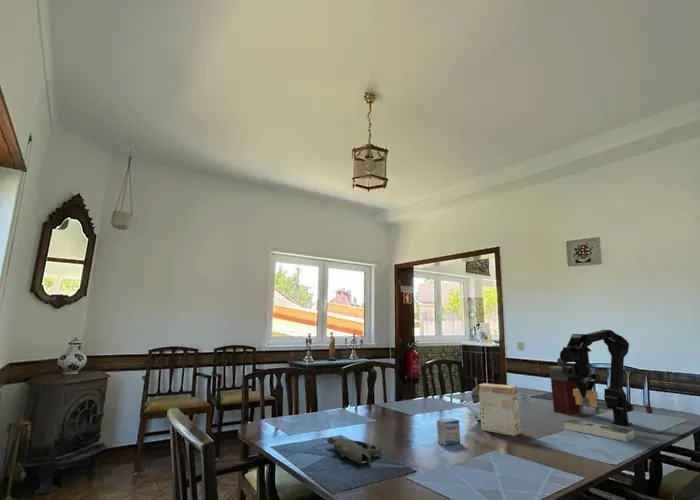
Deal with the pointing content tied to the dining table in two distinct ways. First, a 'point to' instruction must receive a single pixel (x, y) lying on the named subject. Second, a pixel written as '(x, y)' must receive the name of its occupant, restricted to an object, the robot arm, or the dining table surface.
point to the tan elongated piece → (354, 449)
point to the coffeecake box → (499, 409)
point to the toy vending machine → (563, 391)
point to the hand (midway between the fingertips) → (585, 397)
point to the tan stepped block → (589, 394)
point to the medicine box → (448, 431)
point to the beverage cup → (475, 395)
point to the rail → (599, 430)
